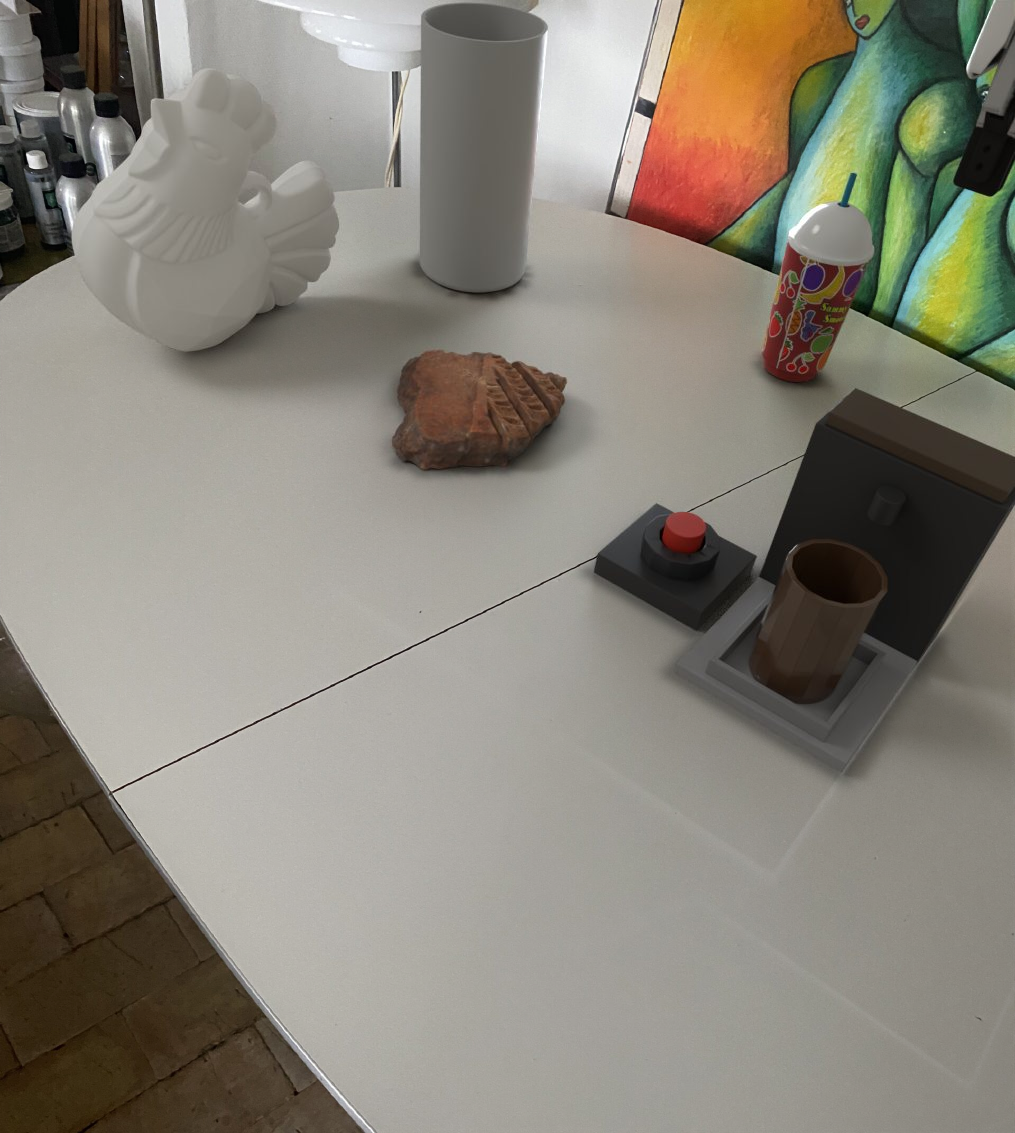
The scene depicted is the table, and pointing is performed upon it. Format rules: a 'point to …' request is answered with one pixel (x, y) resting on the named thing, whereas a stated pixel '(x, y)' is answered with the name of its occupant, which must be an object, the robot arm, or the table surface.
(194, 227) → the decorative rooster
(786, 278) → the smoothie
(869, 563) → the brown cup
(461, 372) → the pottery shard
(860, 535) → the coffee maker
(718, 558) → the black button housing
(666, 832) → the table surface
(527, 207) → the cylinder vase
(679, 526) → the button
